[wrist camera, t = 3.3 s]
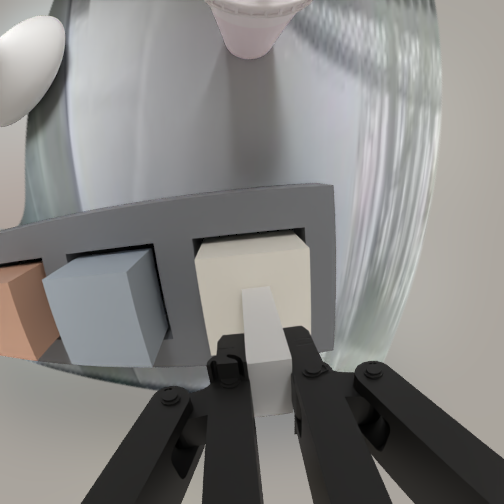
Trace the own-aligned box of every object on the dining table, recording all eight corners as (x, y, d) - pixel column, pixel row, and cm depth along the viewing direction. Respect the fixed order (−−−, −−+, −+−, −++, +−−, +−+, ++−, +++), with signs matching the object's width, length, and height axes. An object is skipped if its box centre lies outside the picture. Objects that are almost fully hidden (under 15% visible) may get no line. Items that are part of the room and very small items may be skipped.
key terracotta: (2, 266, 18) (-33, 286, 13) (45, 260, 18) (7, 282, 13) (21, 327, 20) (-8, 354, 15) (66, 328, 20) (37, 360, 15)
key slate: (78, 256, 18) (41, 279, 14) (151, 247, 19) (126, 272, 14) (98, 329, 20) (72, 364, 15) (168, 326, 20) (152, 367, 15)
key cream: (204, 238, 20) (194, 259, 15) (291, 229, 20) (309, 247, 15) (215, 317, 21) (211, 355, 16) (295, 308, 21) (310, 344, 17)
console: (0, 230, 20) (-26, 240, 16) (316, 183, 21) (333, 185, 17) (31, 338, 23) (13, 357, 19) (319, 325, 24) (333, 350, 20)
